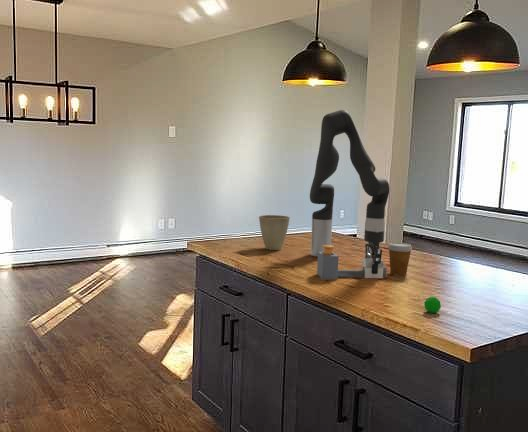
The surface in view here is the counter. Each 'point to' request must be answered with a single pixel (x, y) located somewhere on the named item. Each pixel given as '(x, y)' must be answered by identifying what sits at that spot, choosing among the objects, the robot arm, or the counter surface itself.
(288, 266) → the counter surface
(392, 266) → the disposable coffee cup
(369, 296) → the counter surface
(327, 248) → the plunger
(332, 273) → the grey hollow block
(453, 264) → the counter surface
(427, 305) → the polyhedron
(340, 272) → the rail
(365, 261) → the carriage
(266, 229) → the plant pot
